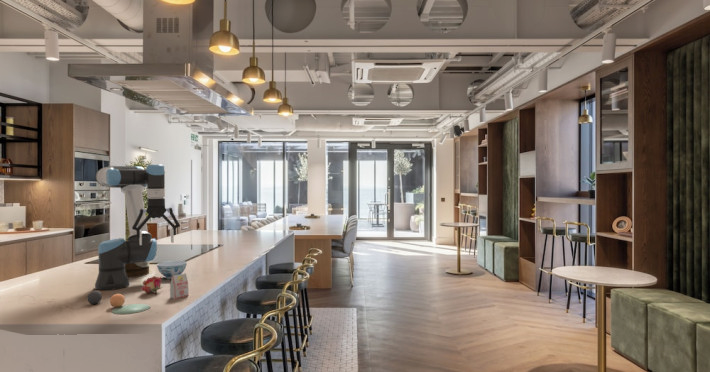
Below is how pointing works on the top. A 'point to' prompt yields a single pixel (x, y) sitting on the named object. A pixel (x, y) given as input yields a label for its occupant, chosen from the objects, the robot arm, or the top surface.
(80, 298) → the top surface
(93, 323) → the top surface
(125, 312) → the green plate
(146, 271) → the wooden container
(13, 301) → the top surface
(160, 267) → the chinaware
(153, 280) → the flower
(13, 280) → the top surface
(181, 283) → the white paper snack bag
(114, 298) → the object ball
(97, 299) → the dark grey ball
